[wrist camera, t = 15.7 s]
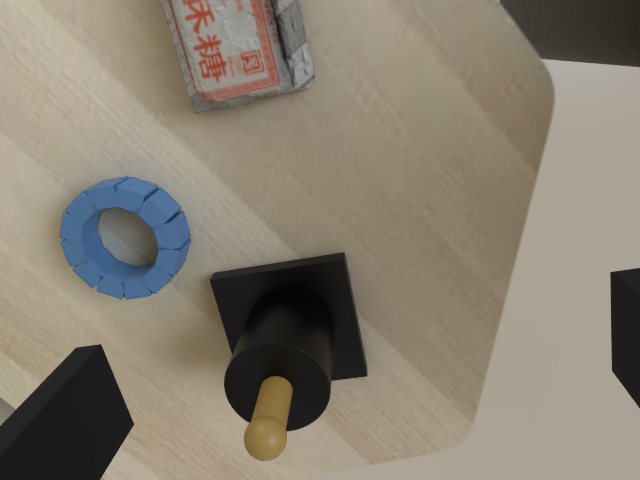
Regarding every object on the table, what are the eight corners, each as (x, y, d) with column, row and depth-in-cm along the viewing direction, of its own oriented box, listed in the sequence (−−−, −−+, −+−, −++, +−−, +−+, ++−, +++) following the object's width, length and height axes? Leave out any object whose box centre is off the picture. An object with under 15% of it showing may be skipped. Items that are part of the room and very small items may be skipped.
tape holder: (344, 252, 44) (338, 361, 29) (367, 366, 48) (371, 515, 33) (213, 272, 46) (142, 386, 31) (246, 382, 50) (198, 530, 35)
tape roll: (170, 168, 43) (157, 176, 40) (203, 274, 46) (193, 289, 43) (61, 188, 44) (42, 198, 41) (101, 290, 47) (85, 306, 45)
